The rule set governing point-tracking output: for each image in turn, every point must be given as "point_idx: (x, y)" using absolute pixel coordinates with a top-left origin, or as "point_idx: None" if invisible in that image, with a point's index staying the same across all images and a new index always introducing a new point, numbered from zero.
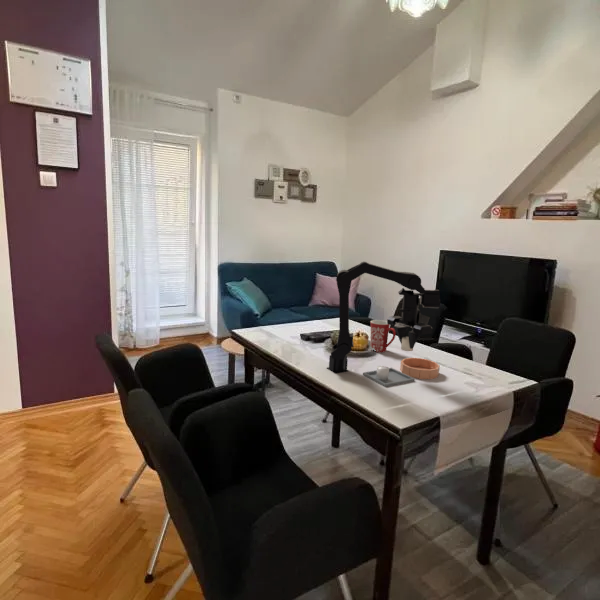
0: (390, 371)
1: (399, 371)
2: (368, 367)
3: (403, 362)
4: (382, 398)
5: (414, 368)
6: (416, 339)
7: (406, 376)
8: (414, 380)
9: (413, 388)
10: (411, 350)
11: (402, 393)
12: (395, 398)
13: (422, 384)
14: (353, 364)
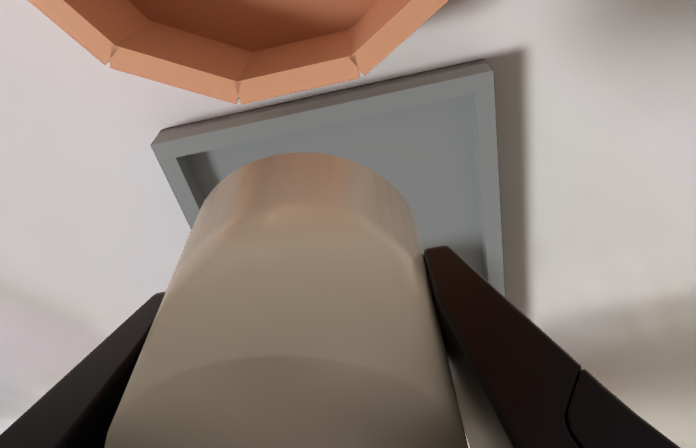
0: (204, 164)
1: (267, 120)
2: (75, 272)
3: (83, 2)
4: (616, 384)
5: (403, 34)
6: (622, 427)
7: (393, 107)
8: (487, 65)
9: (594, 147)
10: (416, 228)
11: (623, 265)
12: (657, 331)
13: (560, 4)
14: (17, 341)
